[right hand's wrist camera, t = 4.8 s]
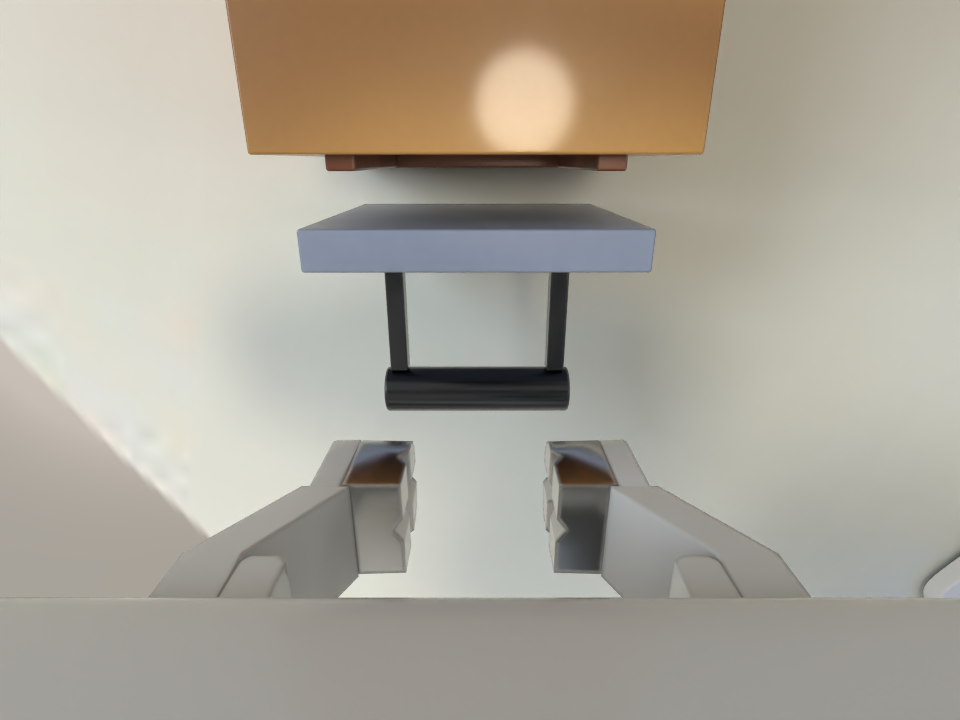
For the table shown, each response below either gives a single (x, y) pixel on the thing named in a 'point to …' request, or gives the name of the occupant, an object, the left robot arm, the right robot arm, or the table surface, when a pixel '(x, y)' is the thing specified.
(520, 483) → the table surface
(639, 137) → the cabinet
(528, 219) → the drawer
